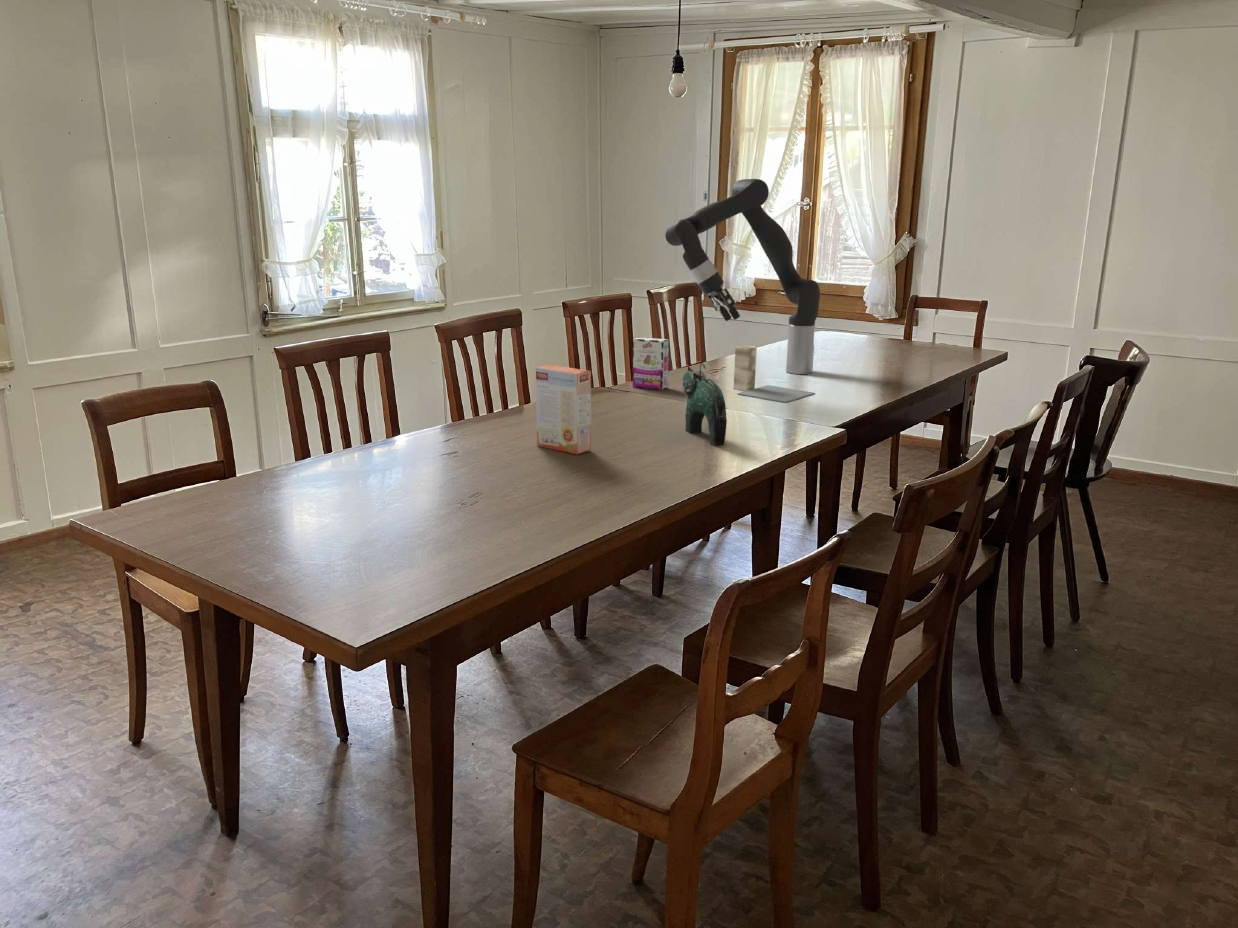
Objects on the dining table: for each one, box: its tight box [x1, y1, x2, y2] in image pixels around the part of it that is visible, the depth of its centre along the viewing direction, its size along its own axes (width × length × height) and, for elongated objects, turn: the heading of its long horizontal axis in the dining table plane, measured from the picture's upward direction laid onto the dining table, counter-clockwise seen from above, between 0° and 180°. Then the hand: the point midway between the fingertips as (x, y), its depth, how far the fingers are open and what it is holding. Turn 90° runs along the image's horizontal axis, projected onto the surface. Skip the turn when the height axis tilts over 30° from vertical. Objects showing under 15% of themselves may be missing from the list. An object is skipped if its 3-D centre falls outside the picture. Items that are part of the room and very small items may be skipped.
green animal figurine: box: [682, 362, 728, 447], centre depth 260 cm, size 20×6×20 cm, turn 21°
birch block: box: [733, 344, 758, 392], centre depth 322 cm, size 5×5×14 cm
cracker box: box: [535, 364, 592, 455], centre depth 247 cm, size 14×6×21 cm, turn 51°
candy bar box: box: [632, 336, 670, 391], centre depth 322 cm, size 11×5×16 cm, turn 62°
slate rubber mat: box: [737, 384, 816, 404], centre depth 316 cm, size 18×18×1 cm
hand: (733, 319), depth 317 cm, fingers open, 8 cm apart
